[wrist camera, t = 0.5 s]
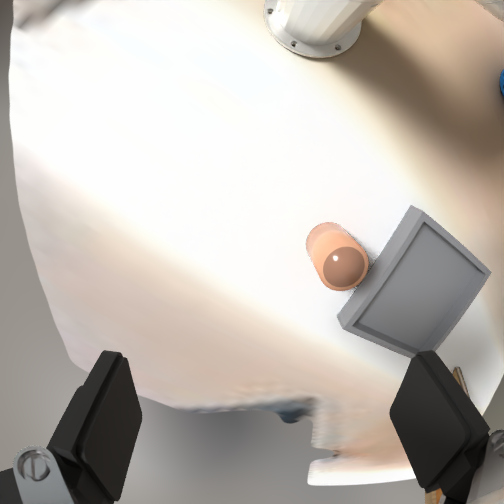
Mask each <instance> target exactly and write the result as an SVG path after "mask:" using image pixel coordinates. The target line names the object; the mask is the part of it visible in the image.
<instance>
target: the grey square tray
mask: <svg viewBox="0 0 504 504" xmlns="http://www.w3.org/2000/svg"><path fill="white" fill-rule="evenodd" d="M490 274H491V271H490V270H489V269H488V268H487V267H486V266H485V265H484V264H482V263H481V262H480V261H479V260H478V259H477V258H476V257H475V256H474V255H473V254H472V253H471V252H470V251H469V250H468V249H466V248H465V247H464V246H463V245H462V244H461V243H460V242H459V241H458V240H457V239H455V238H454V237H453V236H452V235H451V234H450V233H449V232H447V231H446V230H445V229H444V228H443V227H442V226H440V225H439V224H438V223H437V222H436V221H434V220H433V219H432V218H431V217H429V216H428V215H427V214H426V213H425V212H423V211H422V210H420V209H418V208H416V207H414V206H412V205H411V206H410V207H409V209H408V211H407V212H406V214H405V216H404V217H403V219H402V221H401V222H400V224H399V226H398V227H397V229H396V230H395V232H394V234H393V235H392V237H391V238H390V240H389V242H388V243H387V245H386V246H385V248H384V249H383V251H382V252H381V254H380V255H379V257H378V258H377V260H376V261H375V263H374V264H373V266H372V267H371V269H370V270H369V272H368V273H367V275H366V276H365V278H364V279H363V281H362V282H361V283H360V285H359V286H358V288H357V289H356V291H355V292H354V293H353V295H352V296H351V298H350V299H349V300H348V302H347V303H346V304H345V306H344V307H343V309H342V310H341V311H340V313H339V314H338V315H337V318H338V320H339V322H340V324H341V326H342V329H344V330H346V331H348V332H350V333H353V334H355V335H357V336H360V337H362V338H364V339H367V340H369V341H371V342H374V343H376V344H378V345H381V346H383V347H385V348H388V349H390V350H392V351H395V352H397V353H399V354H402V355H404V356H407V357H409V358H411V359H412V358H413V357H415V355H416V354H417V353H418V352H421V351H429V350H433V351H434V352H435V350H436V349H437V348H438V347H439V346H440V344H441V343H442V342H443V341H444V339H445V338H446V337H447V336H448V334H449V333H450V332H451V330H452V329H453V328H454V327H455V325H456V324H457V323H458V321H459V320H460V319H461V317H462V316H463V314H464V313H465V312H466V310H467V309H468V307H469V306H470V305H471V303H472V302H473V300H474V299H475V297H476V296H477V294H478V293H479V291H480V290H481V288H482V287H483V285H484V284H485V282H486V280H487V279H488V277H489V276H490Z"/></svg>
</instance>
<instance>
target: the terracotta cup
mask: <svg viewBox="0 0 504 504" xmlns="http://www.w3.org/2000/svg"><path fill="white" fill-rule="evenodd" d="M306 249H307V252H308V255H309V257H310V259H311V261H312V263H313V265H314V267H315V269H316V271H317V273H318V275H319V277H320V279H321V281H322V282H323V284H324V285H325V286H327V287H328V288H330V289H332V290H335V291H345V290H349V289H352V288H353V287H355V286H357V285H358V284H359V283H360V282H361V281H362V280H363V279H364V277H365V275H366V273H367V270H368V265H369V261H368V256H367V254H366V252H365V251H364V249H363V248H362V247H361V246H360V245H359V244H358V243H357V242H356V241H355V240H354V239H353V238H352V237H351V236H350V235H349V234H348V233H347V232H346V231H345V230H344V229H343V228H342V227H341V226H340V225H338V224H336V223H332V222H326V223H322V224H319V225H317V226H316V227H315V228H313V229H312V230H311V232H310V233H309V235H308V237H307V240H306Z"/></svg>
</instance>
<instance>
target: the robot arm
mask: <svg viewBox="0 0 504 504" xmlns="http://www.w3.org/2000/svg"><path fill="white" fill-rule="evenodd" d="M383 1H385V0H266V1H265V4H264V11H263V12H264V20H265V23H266V26H267V28H268V30H269V32H270V33H271V35H272V36H273V37H274V38H275V39H276V40H277V41H278V42H279V43H280V44H281V45H283V46H284V47H285V48H287V49H289V50H291V51H292V52H295V53H297V54H300V55H303V56H307V57H312V58H327V57H332V56H336V55H339V54H341V53H343V52H345V51H346V50H347V49H349V48H350V47H351V46H352V45H353V44H354V43H355V42H356V40H357V38H358V37H359V34H360V31H361V21H362V20H363V19H364V18H365V17H366V16H367V15H368V14H370V13H371V12H372V11H373V10H374V9H375V8H376V7H378V6H379V5H380V4H381V3H382V2H383ZM474 1H475V2H476V3H478V4H479V5H480V6H481V7H483V8H484V9H485V10H487V11H488V12H489V13H491V14H492V15H493V16H495V17H496V18H498V19H500V20H501V21H503V22H504V0H474ZM269 12H270V13H272V14H268V13H269ZM292 44H294V45H295V47H293V46H292ZM335 48H337V49H338V50H336V49H335ZM390 418H391V420H392V423H393V425H394V427H395V429H396V432H397V434H398V436H399V438H400V441H401V443H402V445H403V447H404V450H405V452H406V454H407V457H408V459H409V461H410V464H411V466H412V468H413V471H414V473H415V476H416V478H417V480H418V483H419V485H420V486H421V487H422V488H424V489H425V492H426V494H427V493H430V492H433V491H436V490H438V489H439V488H441V491H442V495H441V498H440V501H439V503H438V504H504V430H496V431H494V432H493V433H492V434H491V435H490V436H489V434H488V431H489V430H490V428H489V426H488V425H487V423H486V422H485V420H484V419H483V417H482V416H481V414H480V413H479V411H478V410H477V408H476V407H475V405H474V404H473V403H472V401H471V400H470V398H469V397H468V396H467V394H466V393H465V391H464V390H463V389H462V387H461V386H460V384H459V383H458V382H457V380H456V379H455V378H454V376H453V375H452V374H451V372H450V371H449V370H448V368H447V367H446V366H445V364H444V363H443V362H442V360H441V359H440V358H439V356H438V355H437V354H436V352H434V351H433V350H429V351H421V352H418V353H417V354H416V355H415V357H413V358H412V359H411V362H410V364H409V367H408V369H407V372H406V374H405V377H404V379H403V381H402V384H401V386H400V388H399V391H398V393H397V395H396V397H395V400H394V402H393V404H392V406H391V408H390ZM141 422H142V411H141V408H140V404H139V401H138V397H137V394H136V390H135V386H134V383H133V379H132V375H131V371H130V367H129V363H128V360H127V358H125V357H123V356H122V354H121V353H120V352H113V351H106V350H104V351H103V352H102V353H101V355H100V356H99V358H98V360H97V362H96V363H95V365H94V367H93V369H92V370H91V372H90V374H89V376H88V378H87V379H86V381H85V383H84V385H83V386H80V387H79V388H78V389H77V390H76V392H75V394H74V396H73V398H72V399H71V401H70V403H69V405H68V407H67V409H66V411H65V413H64V414H63V416H62V418H61V420H60V422H59V424H58V426H57V428H56V430H55V432H54V434H53V436H52V438H51V440H50V442H49V444H48V446H47V448H46V449H45V448H43V447H41V446H28V447H26V448H24V449H22V450H21V451H20V452H18V453H17V455H16V457H15V458H14V462H13V468H11V469H7V470H4V471H1V472H0V504H114V501H118V500H119V499H120V497H121V493H122V489H123V486H124V482H125V478H126V474H127V471H128V467H129V463H130V460H131V456H132V452H133V449H134V446H135V442H136V439H137V435H138V432H139V429H140V425H141Z"/></svg>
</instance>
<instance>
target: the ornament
mask: <svg viewBox="0 0 504 504" xmlns="http://www.w3.org/2000/svg"><path fill="white" fill-rule="evenodd" d="M500 87H501V91H502V94H503V96H504V70H503V71H502V73H501V76H500Z"/></svg>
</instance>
